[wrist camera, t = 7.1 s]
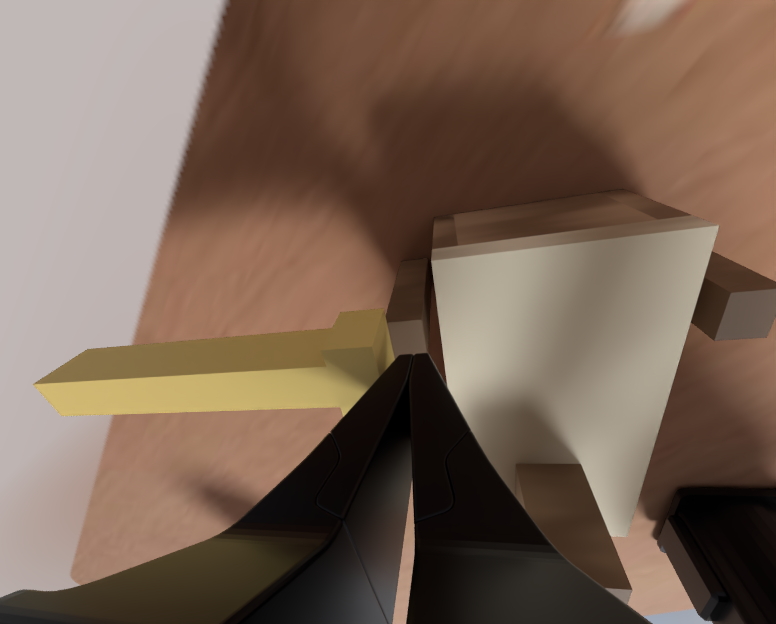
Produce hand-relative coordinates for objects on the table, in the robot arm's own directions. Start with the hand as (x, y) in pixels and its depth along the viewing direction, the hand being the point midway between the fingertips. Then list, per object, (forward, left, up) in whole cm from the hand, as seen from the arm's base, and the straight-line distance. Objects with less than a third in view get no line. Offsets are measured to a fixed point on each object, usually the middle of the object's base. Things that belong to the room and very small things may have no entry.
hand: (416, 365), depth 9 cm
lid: (-4, +5, -3) cm, 7 cm away
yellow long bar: (+7, 0, -1) cm, 7 cm away
